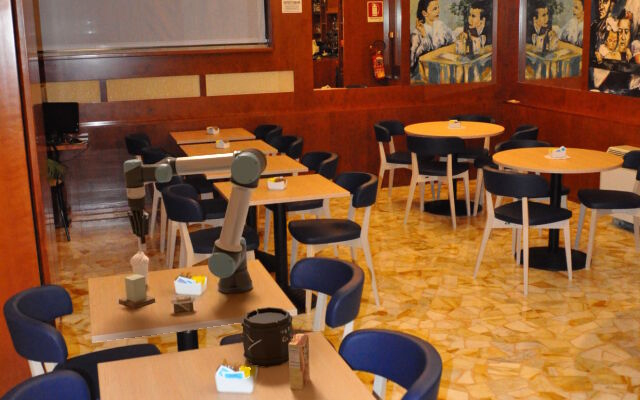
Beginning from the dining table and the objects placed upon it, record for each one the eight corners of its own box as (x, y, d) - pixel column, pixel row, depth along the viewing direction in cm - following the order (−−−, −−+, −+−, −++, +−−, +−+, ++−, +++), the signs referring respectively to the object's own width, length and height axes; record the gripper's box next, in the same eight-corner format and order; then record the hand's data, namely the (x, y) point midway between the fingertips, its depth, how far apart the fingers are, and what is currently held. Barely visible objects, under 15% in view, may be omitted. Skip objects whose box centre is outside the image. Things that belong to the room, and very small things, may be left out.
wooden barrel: (246, 347, 285) (243, 306, 282) (296, 346, 284) (293, 305, 281) (238, 369, 268) (235, 325, 264) (291, 368, 267) (289, 324, 263)
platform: (207, 314, 321) (206, 298, 319) (162, 320, 316) (161, 304, 315) (204, 304, 332) (203, 289, 330) (160, 310, 328) (159, 295, 326)
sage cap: (146, 298, 337) (144, 276, 335) (135, 302, 333) (132, 280, 330) (138, 295, 341) (136, 273, 339) (126, 299, 337) (124, 277, 334)
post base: (155, 301, 337) (153, 282, 335) (135, 308, 329) (133, 289, 328) (138, 295, 345) (136, 277, 343) (119, 302, 337) (117, 283, 336)
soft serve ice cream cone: (138, 288, 354) (135, 254, 350) (129, 284, 360) (125, 250, 356) (154, 284, 359) (151, 250, 356) (145, 280, 365) (142, 246, 362)
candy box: (298, 376, 260) (296, 333, 257) (310, 378, 259) (308, 334, 255) (289, 389, 252) (287, 344, 248) (302, 390, 251) (300, 345, 247)
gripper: (119, 197, 333) (126, 250, 339) (138, 200, 325) (144, 255, 330) (134, 193, 339) (140, 246, 344) (153, 196, 331) (159, 250, 336)
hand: (142, 250), depth 337 cm, fingers closed
